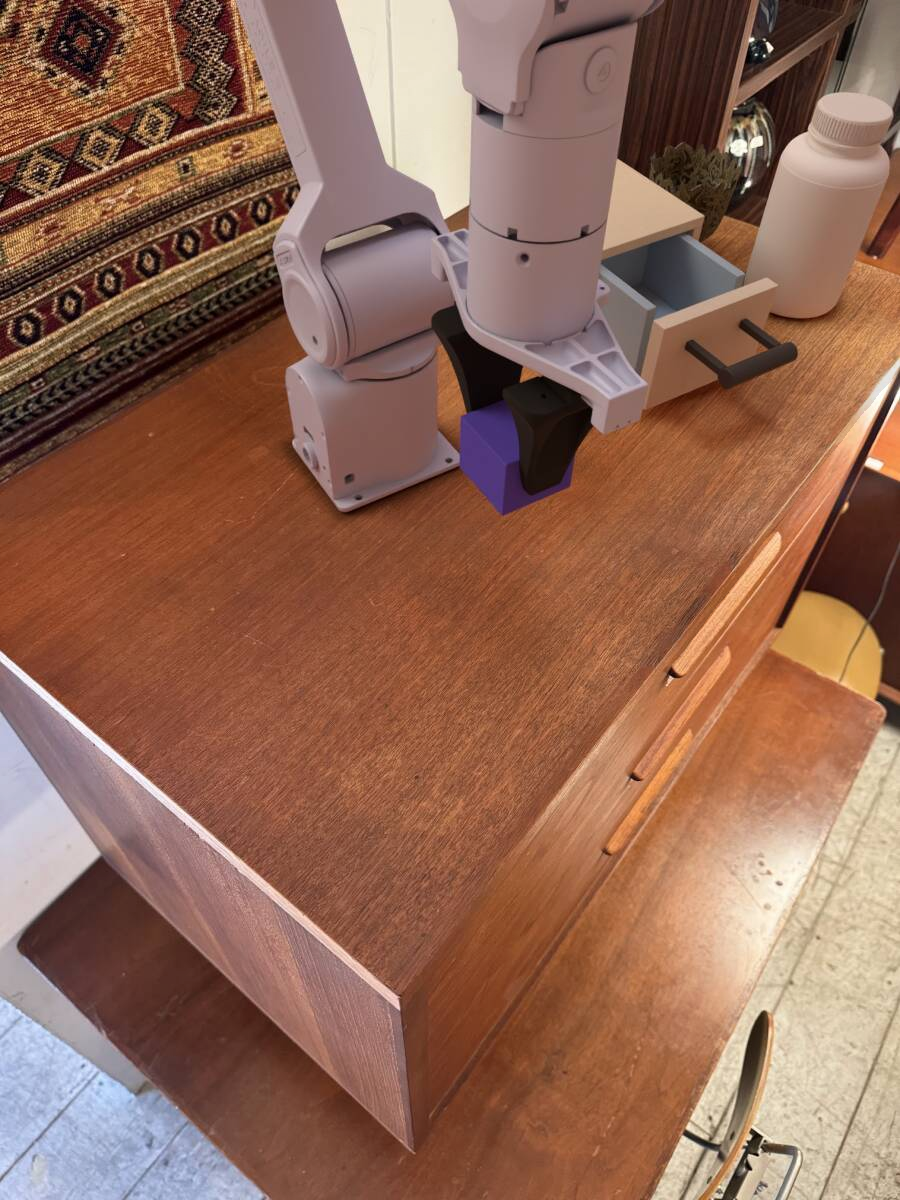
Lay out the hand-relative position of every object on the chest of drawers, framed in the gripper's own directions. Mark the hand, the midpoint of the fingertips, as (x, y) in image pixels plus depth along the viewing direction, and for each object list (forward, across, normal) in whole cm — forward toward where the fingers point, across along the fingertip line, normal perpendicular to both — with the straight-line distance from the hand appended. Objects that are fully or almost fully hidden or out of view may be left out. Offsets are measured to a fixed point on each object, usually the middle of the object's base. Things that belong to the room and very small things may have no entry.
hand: (516, 458), depth 46 cm
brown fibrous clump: (+10, +24, -34) cm, 43 cm away
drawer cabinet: (+10, +23, -22) cm, 33 cm away
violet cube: (+1, 0, 0) cm, 1 cm away
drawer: (+9, +11, -22) cm, 26 cm away
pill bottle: (+10, +14, -38) cm, 42 cm away
